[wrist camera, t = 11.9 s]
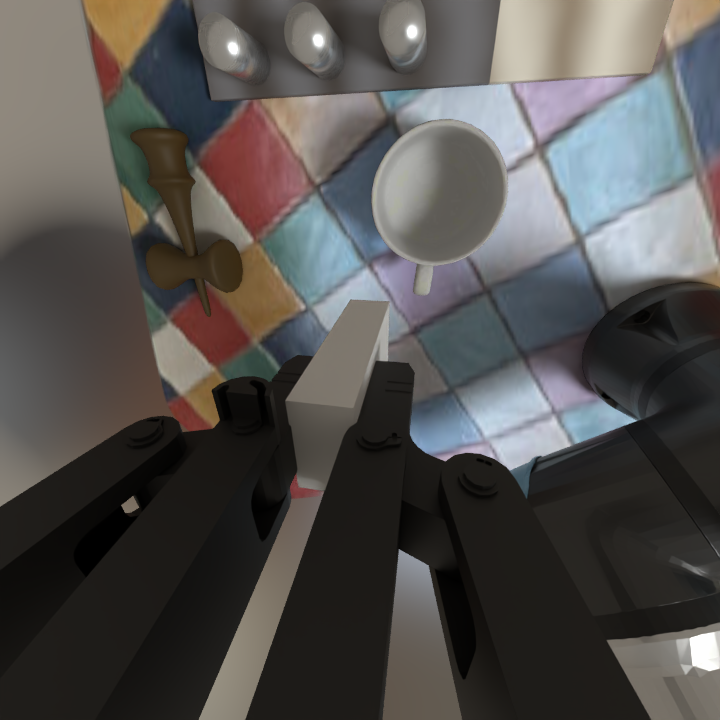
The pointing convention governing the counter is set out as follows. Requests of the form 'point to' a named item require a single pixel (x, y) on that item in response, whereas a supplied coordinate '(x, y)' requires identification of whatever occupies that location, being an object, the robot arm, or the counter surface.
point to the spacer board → (451, 44)
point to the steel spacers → (313, 42)
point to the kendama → (183, 221)
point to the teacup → (439, 195)
